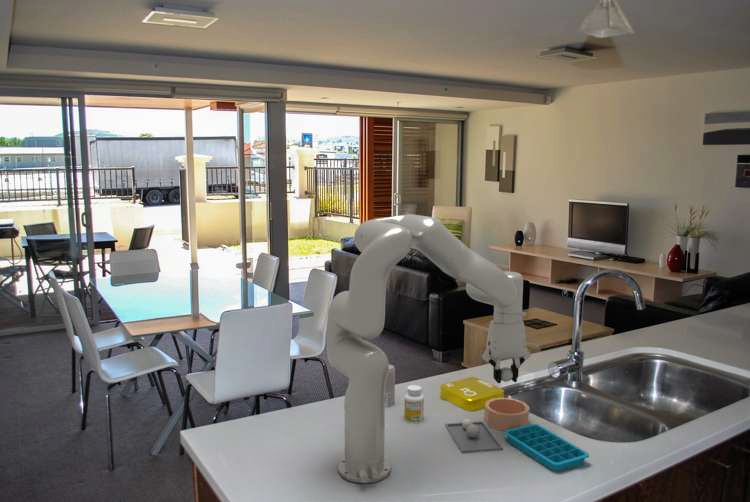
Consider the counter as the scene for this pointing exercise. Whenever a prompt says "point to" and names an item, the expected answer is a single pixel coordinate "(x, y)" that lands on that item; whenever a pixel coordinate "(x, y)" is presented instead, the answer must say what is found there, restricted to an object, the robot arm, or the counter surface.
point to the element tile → (470, 393)
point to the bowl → (506, 413)
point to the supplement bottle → (414, 404)
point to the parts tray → (470, 445)
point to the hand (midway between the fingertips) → (505, 380)
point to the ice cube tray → (546, 447)
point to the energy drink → (390, 387)
